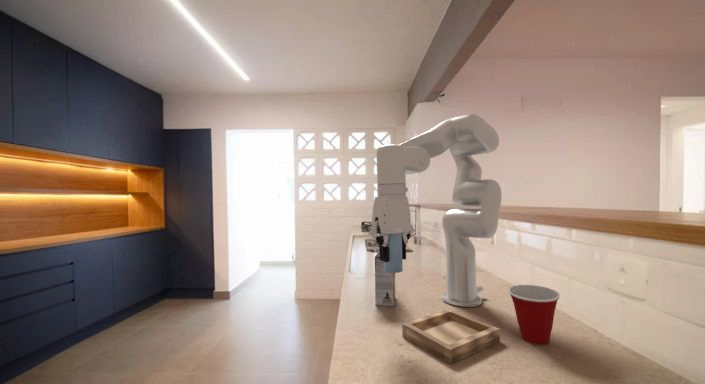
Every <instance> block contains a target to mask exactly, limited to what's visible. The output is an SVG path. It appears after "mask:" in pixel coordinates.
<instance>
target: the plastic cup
mask: <svg viewBox="0 0 705 384" xmlns="http://www.w3.org/2000/svg"><path fill="white" fill-rule="evenodd" d="M507 292H508V293H509V295H510V296H511V297H510V298H511V300H512V303H513V306H514V310H515V312H514V313H515V315H516V316H515V317H516V319H517V324H518V328H519V333H520V336H521V338H522V339H523V340H524V341H526V342H527V343H530V344H534V345H539V346H545V345H546V346H547V345H548V344H549V343H550V340H551V335H552V330H553V326H554V319H555V318H554V317H555V311H556V309H557V304H558V300H559V299H560V293H559V292H558V291H556V290H555V289H552V288H549V287H546V286H540V285H533V284H532V285H531V284H519V285H517V284H516V285H513V286H510V287H508V290H507Z"/></svg>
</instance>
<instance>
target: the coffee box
mask: <svg viewBox="0 0 705 384" xmlns="http://www.w3.org/2000/svg"><path fill="white" fill-rule="evenodd" d="M374 287H375V288H374V295H375V296H374V298H375V303H374V304H375V305H376V306H387V307H388V306H389V307H394V306H395V302H396V273H389V272H385V271H384V261H381V260H380V255H379V251H378V252H377V253H376V254H375V256H374Z"/></svg>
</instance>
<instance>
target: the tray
mask: <svg viewBox="0 0 705 384" xmlns="http://www.w3.org/2000/svg"><path fill="white" fill-rule="evenodd" d="M401 324H402V325H401V326H402V327H401V329H402V330H401V332H402V336H403V337H404V338H406V339H407V340H409V341H411V342H412V343H414V344H415V345H418V346H419V347H421V348H422V349H425V350H426V351H427V352H430V353H431V354H433V355H434V356H436V357H438V358H439V359H441V360H443V361H444V362H446V363H447V364H449V365H452V364H454V363H457V362H459V361H461V360H463V359H465V358H468V357H470V356H471V355H474V354H476V353H478V352H481V351H482V350H485V349H487V348H489V347H491V346H493V345H495V344H498V343H500V341H501V337H500V336H501V333H500V328H498V327H496V326H494V325H491V324H488V323H486V322H483V321H481V320H478V319H476V318H473V317H471V316H467V315H465V314H463V313H460V312H458V311H455V310H453V309H450V308H449V309H446V310H445V309H444V310H441V311H439V312H436V313H432V314H429V315H426V316H423V317H419V318H416V319H413V320H410V321H406V322H403V323H401Z"/></svg>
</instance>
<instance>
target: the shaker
mask: <svg viewBox="0 0 705 384" xmlns="http://www.w3.org/2000/svg"><path fill="white" fill-rule="evenodd" d="M383 237H384V236H383ZM387 246H388V247H389V262H384V271H385V272H389V273H395V274H398V273H399V274H400V273H402V272H404V269H403V268H404V267H403V266H404V263H403V260H404V259H403V258H402V227H395V228H394V229H393V233H392V234H391V235H389V237H388V242H387Z"/></svg>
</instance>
